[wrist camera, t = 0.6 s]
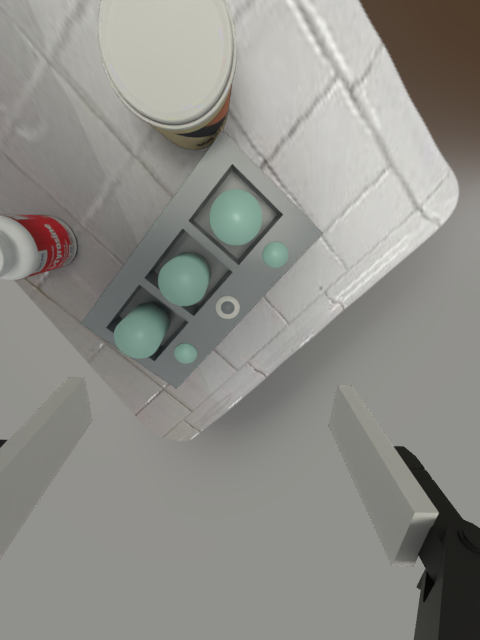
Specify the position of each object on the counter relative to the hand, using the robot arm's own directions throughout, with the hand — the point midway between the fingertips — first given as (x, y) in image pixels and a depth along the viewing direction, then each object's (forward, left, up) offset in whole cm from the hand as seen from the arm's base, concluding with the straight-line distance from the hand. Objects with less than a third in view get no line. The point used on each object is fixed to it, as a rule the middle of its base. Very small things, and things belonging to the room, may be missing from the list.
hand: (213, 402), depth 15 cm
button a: (-5, -8, -20) cm, 22 cm away
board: (-4, 0, -24) cm, 24 cm away
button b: (-5, 0, -20) cm, 20 cm away
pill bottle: (-20, -9, -24) cm, 32 cm away
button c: (-5, +8, -20) cm, 22 cm away
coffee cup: (-16, +13, -24) cm, 31 cm away
